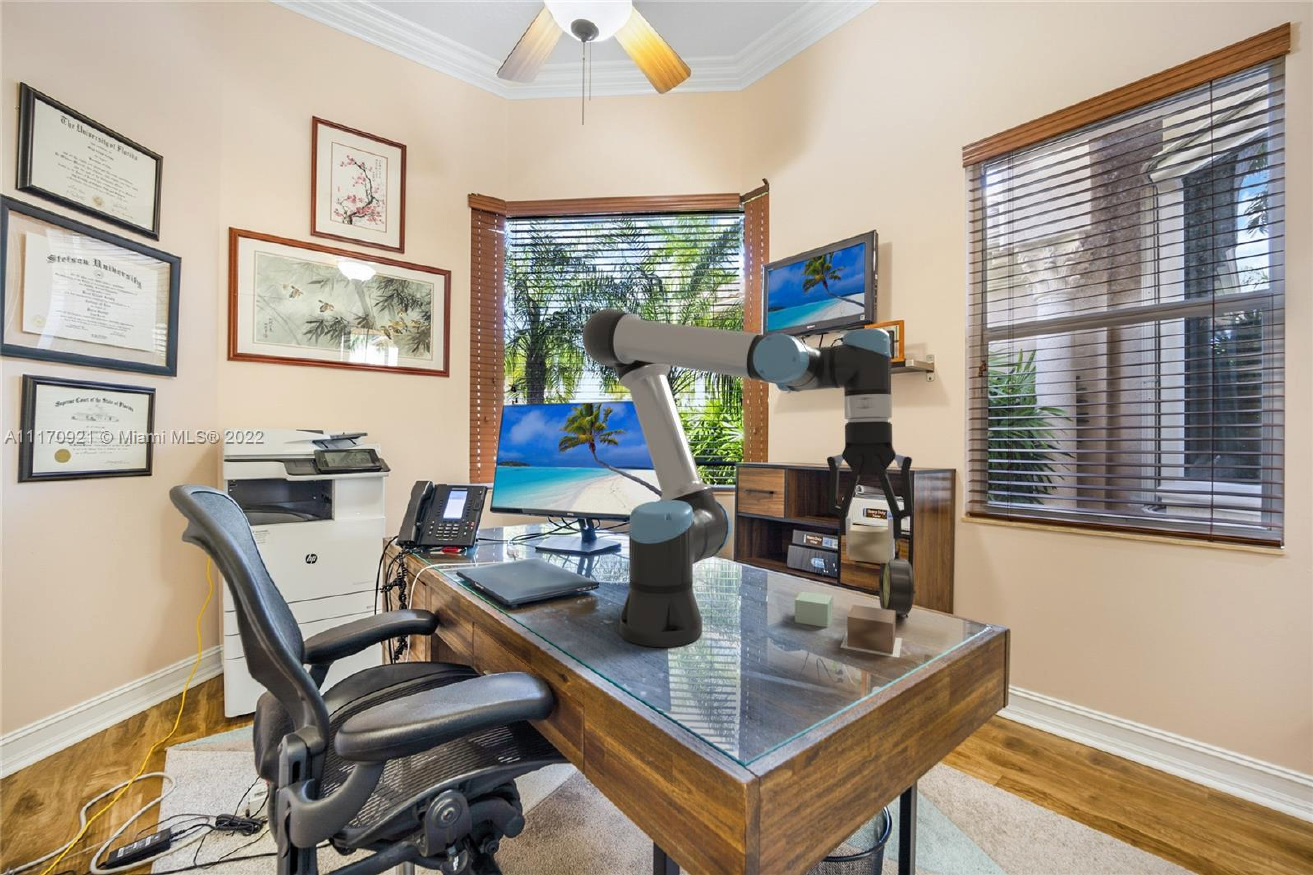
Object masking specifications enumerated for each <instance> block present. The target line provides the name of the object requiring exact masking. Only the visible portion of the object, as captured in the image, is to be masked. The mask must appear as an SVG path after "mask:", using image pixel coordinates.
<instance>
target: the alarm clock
mask: <svg viewBox="0 0 1313 875" xmlns="http://www.w3.org/2000/svg"><path fill="white" fill-rule="evenodd" d="M896 542H897V544H898V548H897V544H896ZM894 543H895V557H894V560H891V559H889V562H888V563H880V567H879V573H878V574H879V575H878V598H879V604H880V606H879V607H880V609H887V610H894V611H896V621H895V624H898V616H900V617H901V616H903V617H904V616H905V617H906V618H909V615H908V614H909V613H910V612H911V610H912V607H913V604H914V599H915V598H914V597H915V594H916V590H915V577H914V572H913V568H912V564H911V563H910V562H909V561H908V560H907V559H905V558H903V557H902V558H901V557H900V551H901V542H900V539H894Z"/></svg>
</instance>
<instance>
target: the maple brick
mask: <svg viewBox="0 0 1313 875" xmlns="http://www.w3.org/2000/svg"><path fill="white" fill-rule="evenodd" d="M848 558H849V561H855V562H856V561H858V562H867V563H868V562H870V563H880V564H881V563H888V562H889V539H888V526H878V525H877V526H875V525H872V526H871V525H860V524H859V525H856V524H853V527H852V528H851V529H850V530H849V556H848Z"/></svg>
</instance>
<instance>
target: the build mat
mask: <svg viewBox="0 0 1313 875" xmlns="http://www.w3.org/2000/svg"><path fill="white" fill-rule="evenodd" d="M902 641H903V638H902V637H896V636H895V644H894V650H893V654H889V653H884V652H878V651H872V650H867V649H861V648H855V647H850V646H847V632H846V633H845V636H844V638H843V640H842V642H841V645H840V648H842V649H847V650H851V651H859V652H863V653H870V654H876V655H881V656H886V657H891V658H892V657H893V658H897V659H898V658H900V654H901V649H902Z"/></svg>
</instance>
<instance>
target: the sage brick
mask: <svg viewBox="0 0 1313 875" xmlns="http://www.w3.org/2000/svg"><path fill="white" fill-rule="evenodd" d="M833 618H834V595H831V594H824V593H823V594H822V593H816V592H808V591H801V592H800V593H799V594H798V596H796V598H795V599H794V623H799V624H805V625H811V626H814V627H815V626H816V627H822V628H829V626H830V624H831V622H832V620H833Z"/></svg>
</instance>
